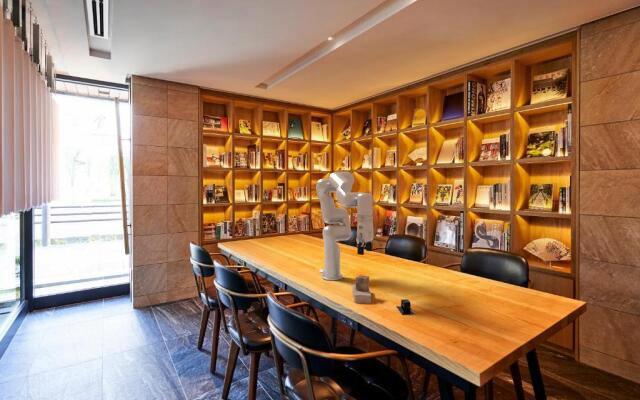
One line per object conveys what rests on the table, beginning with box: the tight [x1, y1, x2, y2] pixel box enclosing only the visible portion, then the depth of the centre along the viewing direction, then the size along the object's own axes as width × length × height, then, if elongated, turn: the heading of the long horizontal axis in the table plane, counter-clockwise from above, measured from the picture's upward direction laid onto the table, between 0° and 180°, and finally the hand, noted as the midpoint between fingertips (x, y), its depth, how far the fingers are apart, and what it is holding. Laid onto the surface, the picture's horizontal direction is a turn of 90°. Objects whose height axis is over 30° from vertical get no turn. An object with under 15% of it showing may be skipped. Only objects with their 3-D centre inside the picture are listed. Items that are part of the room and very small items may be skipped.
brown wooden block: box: [355, 274, 370, 291], centre depth 163 cm, size 5×5×6 cm
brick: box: [351, 284, 372, 304], centre depth 163 cm, size 16×8×5 cm, turn 178°
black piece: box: [395, 298, 417, 316], centre depth 145 cm, size 13×8×5 cm, turn 2°
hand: (364, 252), depth 162 cm, fingers open, 9 cm apart
